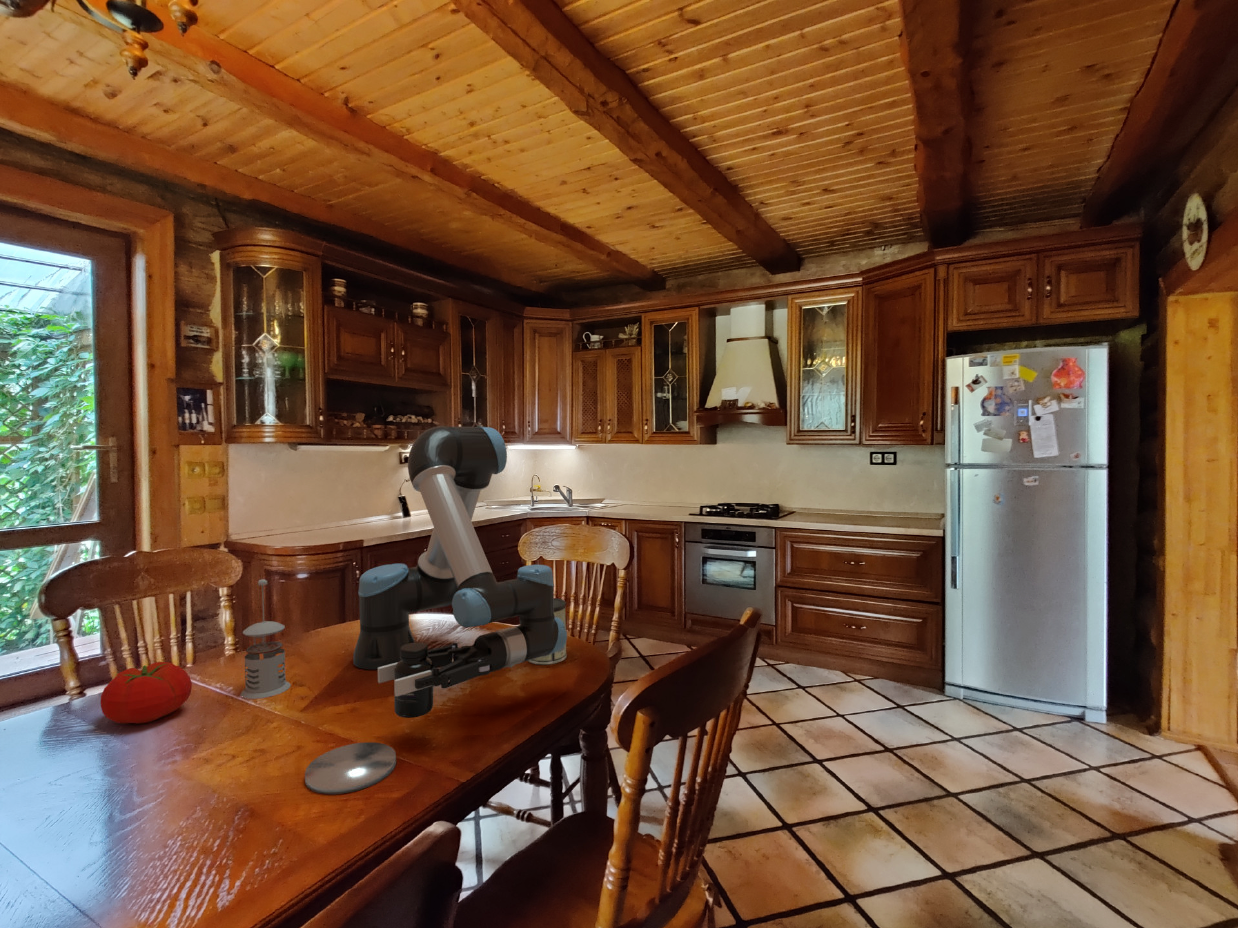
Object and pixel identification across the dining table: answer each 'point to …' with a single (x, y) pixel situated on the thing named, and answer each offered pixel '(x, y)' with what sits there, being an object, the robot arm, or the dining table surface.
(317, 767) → the hub disc
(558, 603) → the coffee can
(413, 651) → the supplement bottle
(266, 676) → the french press
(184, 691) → the tomato
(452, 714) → the dining table surface
